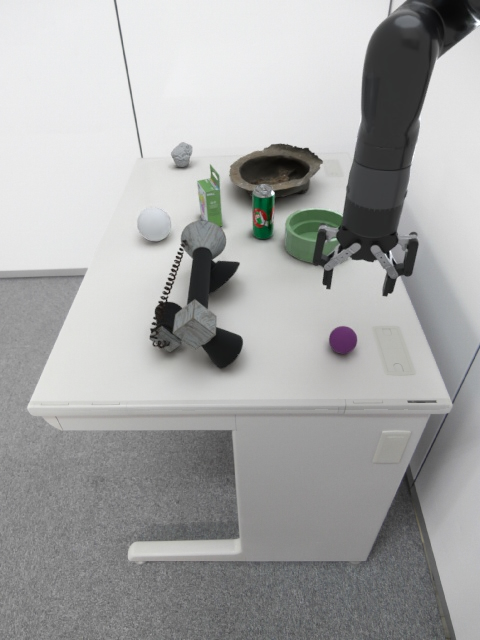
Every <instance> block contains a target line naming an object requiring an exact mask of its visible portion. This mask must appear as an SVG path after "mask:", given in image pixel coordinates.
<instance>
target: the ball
mask: <svg viewBox="0 0 480 640" xmlns="http://www.w3.org/2000/svg"><path fill="white" fill-rule="evenodd" d="M136 227H137V230H138V233H139V234H140V235H141V237H143V238H144V239H146V240H147V241H151V242H159V241H160V242H161V241H162V240H164V239H166V238H167V237H168V235H169V234H170V232H171V229H172V220H171V216H170V215H169V214H168V212H167V211H166V210H164V209H163V208H161V207H159V206H148V207H146V208H145V209H143V210H142V211H140V212H139V215H138V217H137V219H136Z"/></svg>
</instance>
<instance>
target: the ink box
mask: <svg viewBox="0 0 480 640" xmlns="http://www.w3.org/2000/svg"><path fill="white" fill-rule="evenodd" d="M209 169H210V171H209V172H210V177H209V178H204V179H199V180H196V184H197V194H198V203H199V212H200V218H201V220H206V221H211V222H213V223H215V224H217V225H218V226H219V227H220V228H221V227H223V214H222V213H223V212H222V197H221V180H220V179H221V177H220V174H219V173H218V172H217V170H216V169H215V168H214V167H213V166H212V164H211V163H209Z"/></svg>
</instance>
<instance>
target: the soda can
mask: <svg viewBox="0 0 480 640" xmlns="http://www.w3.org/2000/svg"><path fill="white" fill-rule="evenodd" d="M251 198H252V200H251V201H252V202H251V203H252V204H251V205H252V206H251V208H252V214H251V215H252V217H251V219H252V223H251V225H252V226H251V227H252V235H253V236H254V237H255V238H256V239H258V240H268V239H270V238H271V237H273V235H274V231H275V230H274V229H275V203H276V201H275V199H276V197H275V192H274V190H273V187H272V186H270V185H266V184H261V185H257V186H256V187H255V188H254V191H253V193H252V196H251Z"/></svg>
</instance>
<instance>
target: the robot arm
mask: <svg viewBox="0 0 480 640" xmlns="http://www.w3.org/2000/svg"><path fill="white" fill-rule="evenodd" d="M478 27H480V0H405V1H404V2H403V3H401V4H400V5H399V6H398V7H397V8H395V10H394V11H392V12H391V13H390V14H388V16H387V17H386V18H385V19H383V20H382V21H381V22H380V23H379V24H378V25H377V26H376V28H375V29H374V31H373V33H372V34H371V36H370V38H369V41H368V43H367V46H366V49H365V54H364V59H363V66H362V67H363V68H362V74H361V87H360V88H361V89H360V93H361V94H360V120H359V125H358V128H357V135H356V141H355V147H354V151H353V152H354V154H353V159H352V162H351V166H350V170H349V174H348V179H347V184H346V188H345V199H344V205H343V211H342V214H343V217H342V223H341V225H340V227H339V228H332V227H328V226H327V224H326V223H321V224H320V225H319V229H318V234H317V239H316V245H315V250H314V256H313V261H312V262H311V264H312V265H313V266H314V267H318V266H319V267H322V269H323V275H322V280H321V281H322V285H323V286H326V287H325V290H331V289H332V281H333V276H334V275H333V274H334V269H335V267H337V265H341V264H342V263H343V262H345V261H346V260H347V259H349V258H350V259H351V260H352V261H365V262H367V263H375V261H377V262H378V263H379V265H380V266H381V267H382V269H383V270H384V271H386V272H385V277H384V281H383V285H382V295H381V296H382V297H385V298H387V297H388V296H389V294H390V295H392V294H393V293H394V291H395V287H396V283H397V279H398V278H399V277H401V276H403V277H404V276H405V277H407V278H409V277H412V275H413V273H414V268H415V263H416V259H417V254H418V250H419V246H420V245H419V244H420V243H419V234H418V232H416V231H411V232H410V233H409V234H399V233H398V229H399V225H400V220H401V218H402V213H403V209H404V205H405V201H406V198H407V197H408V192H409V187H410V181H411V173H412V172H411V171H412V165H413V161H414V156H415V153H416V149H417V145H418V141H419V136H420V133H421V132H420V131H421V124H422V119H421V114H422V111H423V107H424V103H425V100H426V97H427V93H428V89H429V86H430V82H431V79H432V76H433V72H434V69H435V65H436V63H437V61H438V60H439V59H440V58H442V57H443V56H444V55H445V54H447V52H449V51H450V50H451V49H453V47H455V46H456V45H458V43H460V42H461V41H462V40H463V39H465V38H466V37H468V35H470V34H471V33H472V32H474V31H475V30H476V29H477V28H478ZM333 237H336V239H337V241H338V242H339V244H338V245H337V246H336V247H335V249H334V250H333V251H332V252H331V253H329V254H328V255H325V254H322V253H323V248H324V243H328V242H330V241H331V239H332V238H333ZM397 245H400V246H401V250H402V252H404V256H403V261H402V262H400V263H397V261H396V259H395V257H394V256H393V253H392V250H393V249H395V248H396V247H397Z"/></svg>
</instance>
